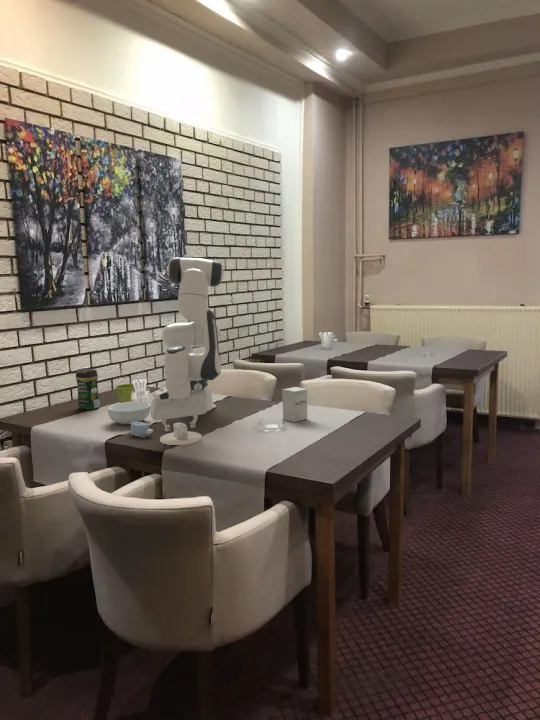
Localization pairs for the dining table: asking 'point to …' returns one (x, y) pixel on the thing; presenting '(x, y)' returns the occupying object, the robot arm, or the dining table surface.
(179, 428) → the grey connector
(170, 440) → the saucer
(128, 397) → the plant pot
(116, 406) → the cereal bowl
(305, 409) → the supplement box
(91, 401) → the coffee jar
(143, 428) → the blue connector
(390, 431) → the dining table surface
